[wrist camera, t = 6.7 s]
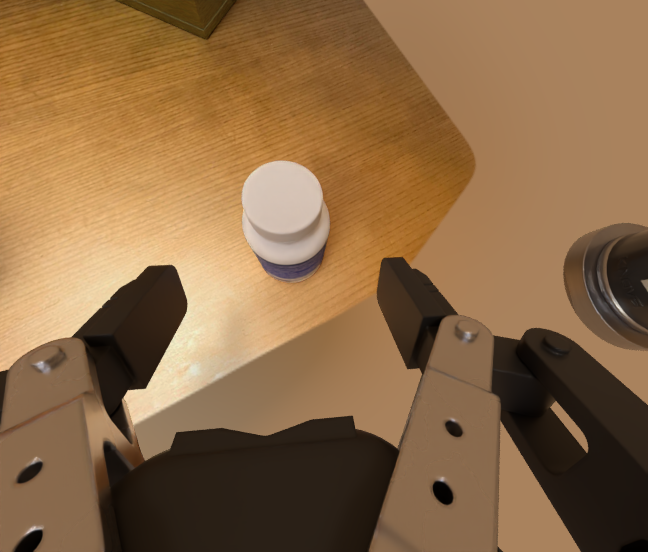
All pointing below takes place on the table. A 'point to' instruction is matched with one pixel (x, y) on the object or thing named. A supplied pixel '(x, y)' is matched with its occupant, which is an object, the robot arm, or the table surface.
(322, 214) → the pill bottle
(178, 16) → the open box
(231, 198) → the table surface
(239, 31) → the table surface
